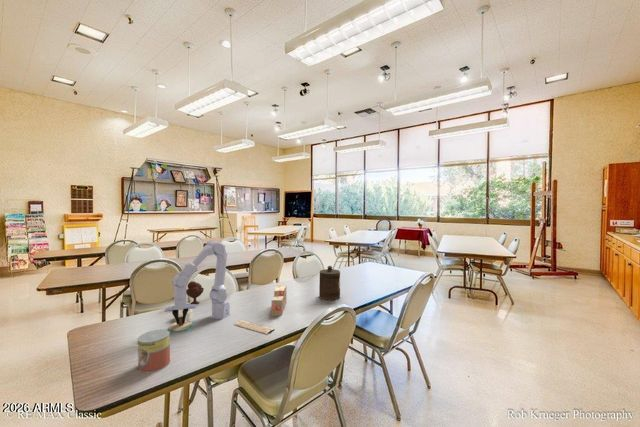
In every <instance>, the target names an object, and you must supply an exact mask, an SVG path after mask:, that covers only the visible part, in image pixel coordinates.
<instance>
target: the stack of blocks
mask: <svg viewBox="0 0 640 427" xmlns="http://www.w3.org/2000/svg"><path fill="white" fill-rule="evenodd" d="M273 292H274V293H273V297H272V299H271V308H270V309H271V316H282V315H283V313H284V311H285V308H286V306H287V285H282V284H281V285H276V286H275V288H274V290H273Z"/></svg>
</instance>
